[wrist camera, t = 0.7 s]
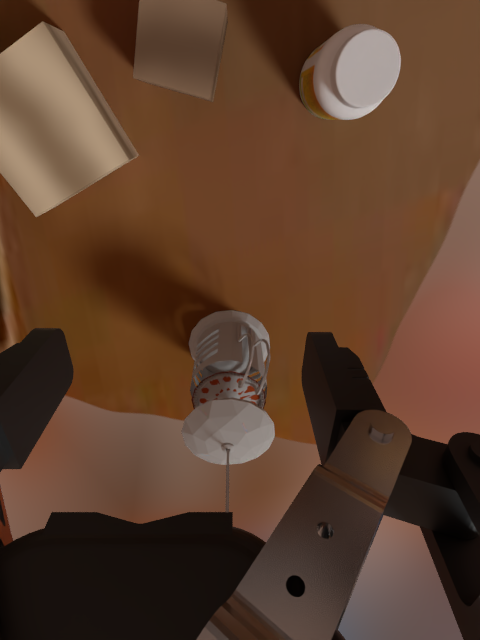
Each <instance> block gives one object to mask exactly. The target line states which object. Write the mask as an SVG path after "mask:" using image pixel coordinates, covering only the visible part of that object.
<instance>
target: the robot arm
mask: <svg viewBox="0 0 480 640" xmlns="http://www.w3.org/2000/svg"><path fill="white" fill-rule="evenodd" d="M72 380H73V365H72V361H71V358H70V354H69V350H68V347H67V343H66V339H65V335H64V333H63V331H62V330H61V329H58V328H35V329H33V330H32V331H31V332H30V333H29V334H28V335H27V336H26V337H25V338H24V339H23V340H22V342H21V343H17V344H15V345H13V346H12V347H10V348H8V349H7V350H5V351H3V352H2V353H0V472H1V470H2V469H21V468H22V466H23V465H24V463H25V461H26V460H27V458H28V456H29V454H30V452H31V451H32V449H33V448H34V446H35V444H36V442H37V441H38V439H39V438H40V436H41V434H42V433H43V431H44V429H45V427H46V426H47V424H48V422H49V421H50V419H51V417H52V416H53V414H54V412H55V411H56V409H57V407H58V406H59V404H60V402H61V401H62V399H63V397H64V396H65V394H66V392H67V391H68V389H69V387H70V385H71V383H72ZM302 387H303V391H304V395H305V399H306V403H307V407H308V411H309V416H310V420H311V424H312V428H313V432H314V436H315V440H316V444H317V448H318V452H319V456H320V460H321V464H322V465H320V464H319V465H317V466H316V468H315V469H314V470H313V472H312V473H311V475H310V476H309V478H308V480H307V481H306V482H305V484H304V485H303V487H302V489H301V490H300V492H299V493H298V495H297V496H296V498H295V499H294V501H293V502H292V504H291V505H290V507H289V509H288V510H287V511H286V513H285V514H284V516H283V518H282V519H281V521H280V522H279V524H278V525H277V527H276V528H275V530H274V532H273V533H272V534H271V536H270V538H269V539H268V541H267V542H264V541H263V540H261V539H260V538H258V537H257V536H255V535H253V534H252V533H249V532H247V531H245V530H242V529H239V528H236V527H232V512H188V513H184V514H180V515H176V516H172V517H168V518H164V519H160V520H156V521H152V522H148V523H144V524H137V523H133V522H129V521H126V520H122V519H118V518H115V517H111V516H108V515H104V514H101V513H97V512H52V513H51V515H50V518H49V519H48V522H47V524H46V526H45V528H44V529H40V530H38V531H35V532H32V533H29V534H27V535H25V536H22V537H21V538H18V539H16V540H14V541H13V538H12V534H11V531H10V525H9V521H8V517H7V513H6V509H5V504H4V499H3V495H2V491H1V486H0V640H345V638H344V637H343V636H342V634H341V633H340V632H339V631H338V628H339V625H340V622H341V620H342V618H343V615H344V613H345V610H346V607H347V605H348V603H349V600H350V598H351V595H352V592H353V590H354V587H355V585H356V582H357V580H358V577H359V575H360V572H361V570H362V567H363V565H364V562H365V560H366V557H367V555H368V552H369V550H370V547H371V545H372V542H373V540H374V537H375V535H376V532H377V530H378V527H379V525H380V522H381V520H382V517H383V515H386V516H389V517H392V518H395V519H399V520H402V521H405V522H408V523H411V524H414V525H418V526H420V528H421V531H422V533H423V536H424V538H425V541H426V544H427V546H428V549H429V551H430V554H431V557H432V559H433V561H434V564H435V567H436V569H437V572H438V575H439V577H440V580H441V583H442V585H443V588H444V590H445V593H446V595H447V598H448V600H449V603H450V606H451V608H452V611H453V614H454V616H455V619H456V621H457V624H458V627H459V629H460V632H461V634H462V637H463V639H464V640H480V435H479V434H475V433H468V432H462V433H457V434H455V435H453V436H452V437H451V439H450V440H449V442H448V444H444V443H440V442H436V441H432V440H428V439H424V438H421V437H417V436H415V435H412V434H411V432H410V430H409V429H408V427H407V426H406V425H405V424H404V423H403V422H402V421H401V420H400V419H399V418H397V417H395V416H394V415H392V414H390V413H387V412H386V410H385V408H384V406H383V404H382V402H381V400H380V398H379V396H378V394H377V393H376V391H375V389H374V387H373V385H372V383H371V381H370V380H369V377H368V375H367V373H366V371H365V370H364V367H363V365H362V363H361V361H360V359H359V357H358V356H357V355H356V354H354V353H353V352H352V351H351V350H350V349H349V348H343V347H338V345H337V343H336V341H335V339H334V336H333V334H332V333H331V332H308V334H307V338H306V345H305V352H304V359H303V366H302Z"/></svg>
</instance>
